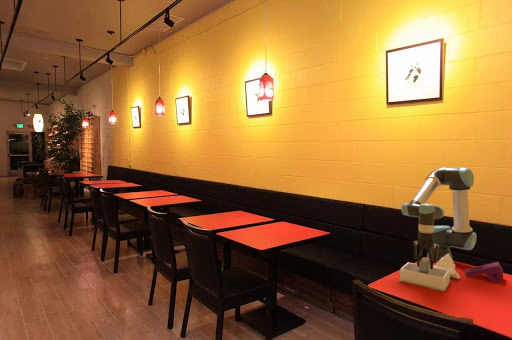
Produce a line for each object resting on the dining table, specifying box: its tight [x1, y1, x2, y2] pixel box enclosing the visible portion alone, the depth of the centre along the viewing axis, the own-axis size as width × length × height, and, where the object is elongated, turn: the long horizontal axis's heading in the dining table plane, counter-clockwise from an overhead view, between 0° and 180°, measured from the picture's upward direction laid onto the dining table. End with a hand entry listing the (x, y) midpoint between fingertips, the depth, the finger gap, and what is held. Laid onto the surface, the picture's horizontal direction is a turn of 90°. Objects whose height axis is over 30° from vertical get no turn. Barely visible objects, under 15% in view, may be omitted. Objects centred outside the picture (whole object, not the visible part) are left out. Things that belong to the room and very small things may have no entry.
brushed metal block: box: [419, 256, 430, 274], centre depth 183 cm, size 10×4×8 cm, turn 141°
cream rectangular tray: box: [399, 261, 451, 292], centre depth 183 cm, size 16×22×7 cm
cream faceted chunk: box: [433, 254, 461, 280], centre depth 194 cm, size 12×15×14 cm
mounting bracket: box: [464, 261, 504, 283], centre depth 191 cm, size 9×8×18 cm
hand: (424, 273), depth 183 cm, fingers closed on brushed metal block, 4 cm apart
